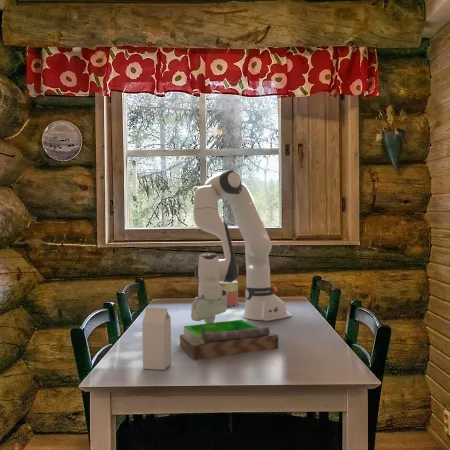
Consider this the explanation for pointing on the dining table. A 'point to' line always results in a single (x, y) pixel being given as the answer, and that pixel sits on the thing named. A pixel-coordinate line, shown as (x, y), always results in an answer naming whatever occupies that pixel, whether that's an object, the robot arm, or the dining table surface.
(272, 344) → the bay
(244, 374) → the dining table surface
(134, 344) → the dining table surface
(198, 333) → the tray
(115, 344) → the dining table surface
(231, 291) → the canned food
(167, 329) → the milk carton
